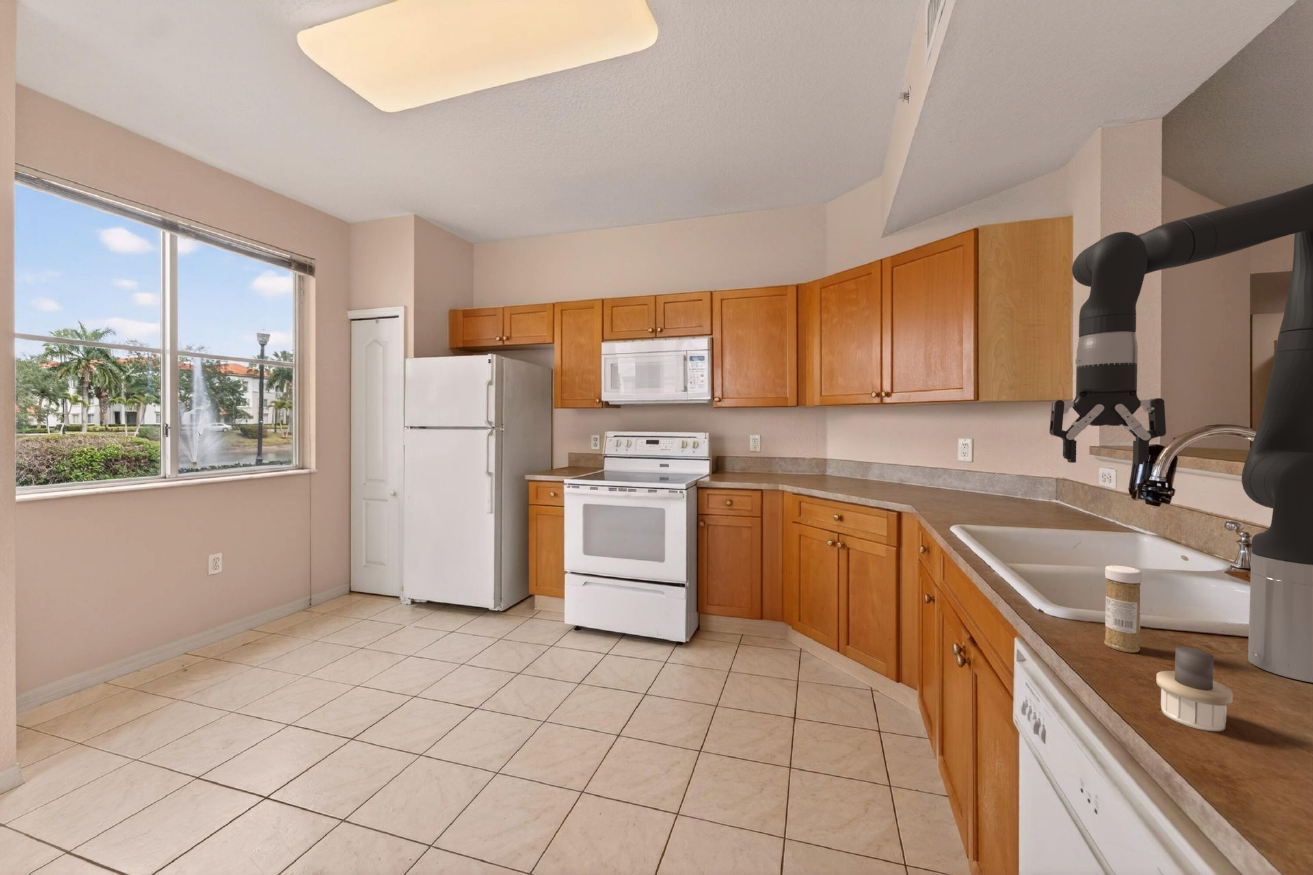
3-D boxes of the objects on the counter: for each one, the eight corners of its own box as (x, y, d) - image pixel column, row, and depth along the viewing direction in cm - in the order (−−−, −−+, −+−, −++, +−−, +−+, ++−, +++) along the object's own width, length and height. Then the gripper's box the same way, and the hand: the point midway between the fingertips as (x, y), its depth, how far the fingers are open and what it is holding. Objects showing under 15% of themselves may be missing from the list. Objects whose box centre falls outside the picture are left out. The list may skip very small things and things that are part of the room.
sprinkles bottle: (1143, 649, 87) (1145, 569, 87) (1134, 656, 85) (1136, 573, 84) (1108, 639, 91) (1110, 563, 91) (1099, 646, 89) (1101, 567, 88)
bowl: (1187, 705, 70) (1188, 679, 70) (1239, 730, 64) (1239, 702, 64) (1149, 707, 70) (1149, 681, 69) (1197, 732, 64) (1198, 704, 64)
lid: (1187, 677, 71) (1188, 640, 70) (1249, 704, 64) (1250, 663, 64) (1141, 679, 70) (1142, 642, 70) (1199, 707, 63) (1200, 666, 63)
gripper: (1057, 363, 84) (1056, 463, 85) (1175, 358, 78) (1173, 466, 79) (1046, 367, 91) (1045, 460, 92) (1153, 363, 85) (1151, 462, 86)
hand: (1104, 463), depth 85 cm, fingers open, 8 cm apart
